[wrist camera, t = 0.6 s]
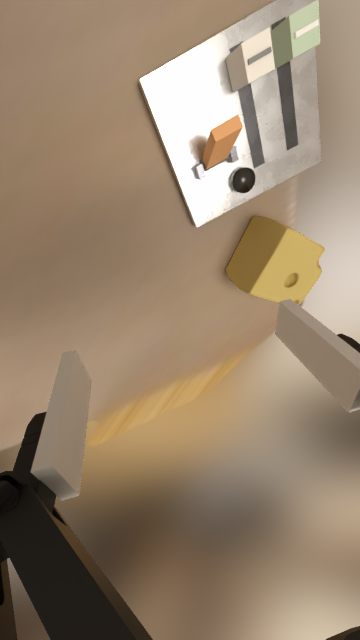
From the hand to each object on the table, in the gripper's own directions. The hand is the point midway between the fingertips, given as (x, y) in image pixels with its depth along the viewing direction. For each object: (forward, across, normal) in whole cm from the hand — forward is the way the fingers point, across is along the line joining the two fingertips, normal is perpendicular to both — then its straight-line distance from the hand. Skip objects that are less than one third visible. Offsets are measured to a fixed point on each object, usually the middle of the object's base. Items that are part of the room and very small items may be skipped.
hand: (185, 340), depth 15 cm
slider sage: (+24, +19, +18) cm, 35 cm away
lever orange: (+24, +11, +8) cm, 27 cm away
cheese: (+26, +19, -6) cm, 33 cm away
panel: (+26, +15, +12) cm, 32 cm away
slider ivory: (+24, +14, +17) cm, 32 cm away
